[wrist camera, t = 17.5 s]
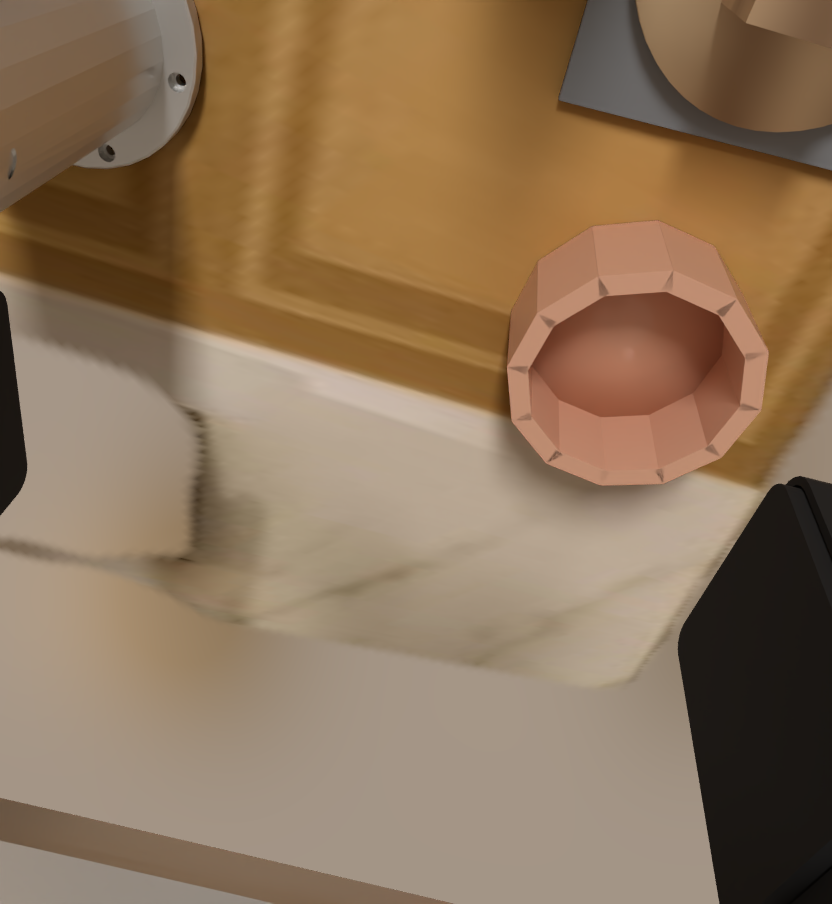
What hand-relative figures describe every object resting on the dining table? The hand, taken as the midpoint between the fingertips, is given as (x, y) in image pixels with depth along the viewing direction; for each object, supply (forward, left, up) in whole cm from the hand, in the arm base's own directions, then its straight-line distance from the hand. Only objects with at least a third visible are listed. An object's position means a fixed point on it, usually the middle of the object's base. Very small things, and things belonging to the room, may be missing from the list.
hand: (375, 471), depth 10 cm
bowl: (-3, -16, -32) cm, 36 cm away
